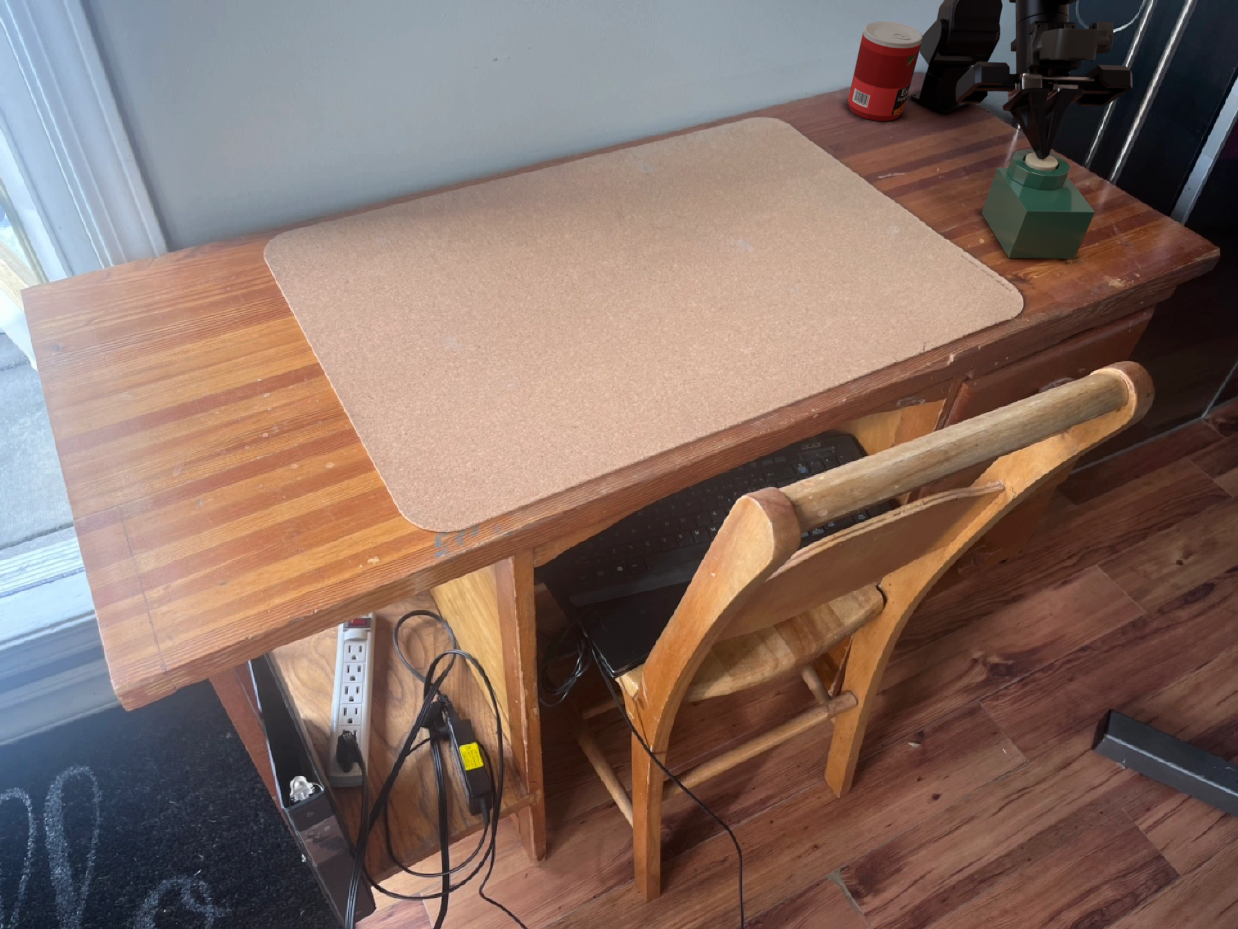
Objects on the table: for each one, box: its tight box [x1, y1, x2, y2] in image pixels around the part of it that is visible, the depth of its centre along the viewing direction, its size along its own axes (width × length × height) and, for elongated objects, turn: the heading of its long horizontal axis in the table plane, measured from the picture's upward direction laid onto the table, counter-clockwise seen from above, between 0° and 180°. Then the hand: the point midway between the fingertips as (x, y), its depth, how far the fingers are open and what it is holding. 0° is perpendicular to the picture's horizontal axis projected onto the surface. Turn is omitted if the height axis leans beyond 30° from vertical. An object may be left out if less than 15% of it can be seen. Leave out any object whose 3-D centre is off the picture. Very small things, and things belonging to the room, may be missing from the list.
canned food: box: [847, 21, 923, 122], centre depth 137 cm, size 8×8×11 cm
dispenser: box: [981, 148, 1096, 260], centre depth 116 cm, size 11×8×8 cm
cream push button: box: [1024, 153, 1058, 171], centre depth 115 cm, size 4×4×2 cm
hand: (1043, 157), depth 114 cm, fingers closed, pressing on cream push button
